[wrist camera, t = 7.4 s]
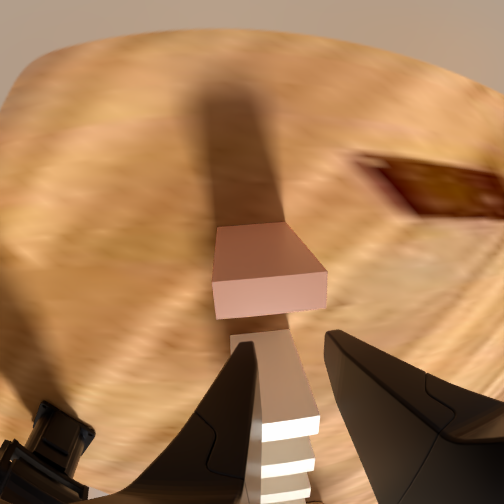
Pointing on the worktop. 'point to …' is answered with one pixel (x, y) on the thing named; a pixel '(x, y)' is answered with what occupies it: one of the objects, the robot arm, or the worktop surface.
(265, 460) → the ivory tile
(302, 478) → the ivory tile
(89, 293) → the worktop surface
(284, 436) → the ivory tile
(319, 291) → the pink rectangular block
